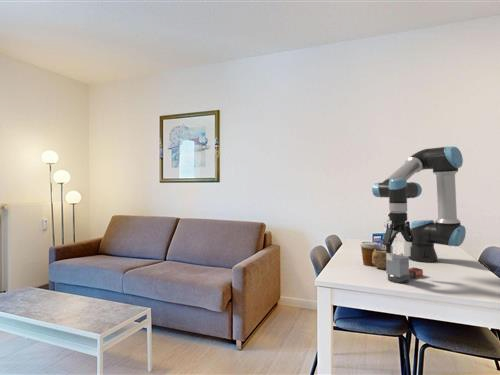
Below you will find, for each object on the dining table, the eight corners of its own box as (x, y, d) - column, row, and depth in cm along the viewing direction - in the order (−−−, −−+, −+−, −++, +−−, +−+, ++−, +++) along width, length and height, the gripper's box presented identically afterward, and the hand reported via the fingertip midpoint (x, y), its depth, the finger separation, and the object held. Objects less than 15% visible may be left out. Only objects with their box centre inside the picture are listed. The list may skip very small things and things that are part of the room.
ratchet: (409, 272, 151) (409, 254, 151) (427, 277, 143) (427, 258, 143) (383, 279, 141) (383, 260, 141) (401, 284, 133) (401, 264, 133)
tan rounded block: (407, 272, 151) (407, 252, 151) (373, 270, 156) (373, 251, 156) (404, 267, 160) (403, 249, 160) (371, 265, 164) (371, 247, 164)
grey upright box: (395, 271, 143) (395, 254, 143) (408, 274, 137) (408, 257, 137) (386, 273, 140) (386, 256, 140) (400, 277, 134) (399, 259, 134)
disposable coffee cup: (357, 264, 166) (357, 243, 166) (364, 261, 173) (364, 240, 173) (374, 268, 160) (374, 245, 160) (381, 264, 167) (381, 242, 167)
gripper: (406, 209, 148) (407, 252, 149) (373, 213, 136) (374, 260, 136) (421, 210, 142) (422, 255, 142) (388, 214, 129) (389, 263, 130)
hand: (398, 257), depth 139 cm, fingers open, 13 cm apart
